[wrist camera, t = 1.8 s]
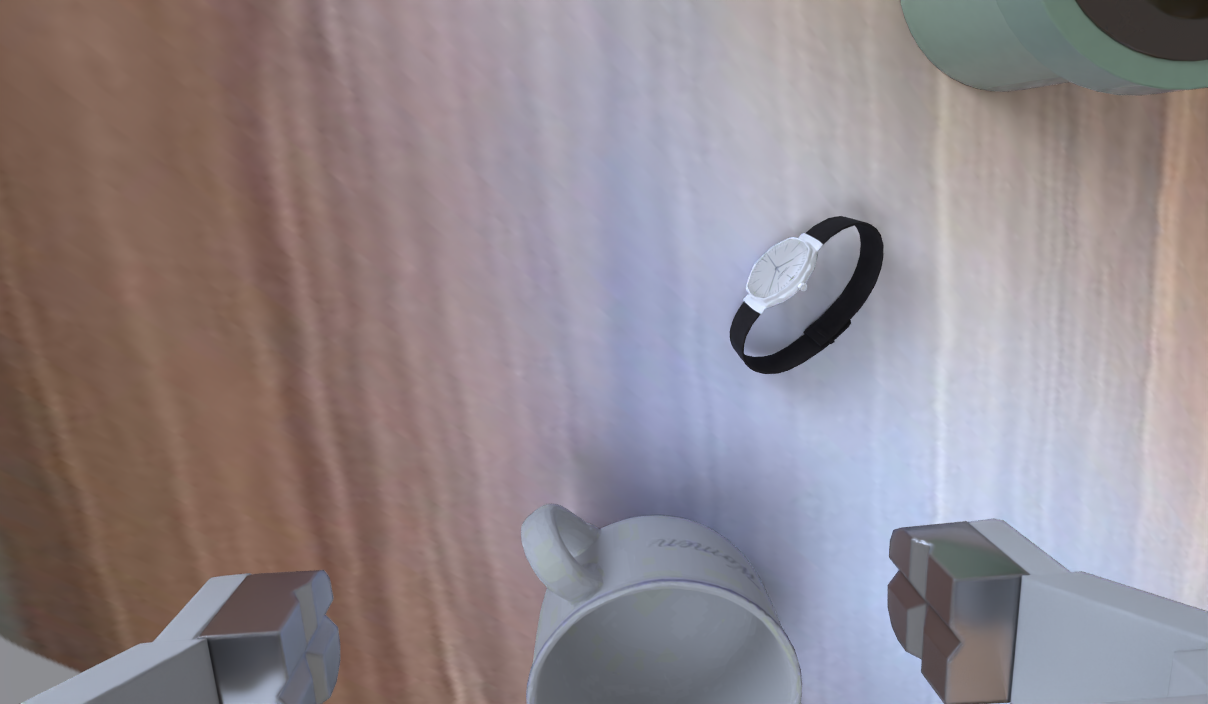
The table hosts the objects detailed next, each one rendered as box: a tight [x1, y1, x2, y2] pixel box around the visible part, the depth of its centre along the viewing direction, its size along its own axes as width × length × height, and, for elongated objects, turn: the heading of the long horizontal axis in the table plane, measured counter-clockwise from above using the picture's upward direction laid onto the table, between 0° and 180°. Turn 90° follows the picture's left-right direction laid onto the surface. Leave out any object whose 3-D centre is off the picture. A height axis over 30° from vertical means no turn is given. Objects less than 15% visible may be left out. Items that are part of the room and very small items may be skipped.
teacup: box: [521, 504, 802, 704], centre depth 32 cm, size 14×11×8 cm
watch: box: [730, 216, 883, 374], centre depth 31 cm, size 8×5×4 cm, turn 140°
